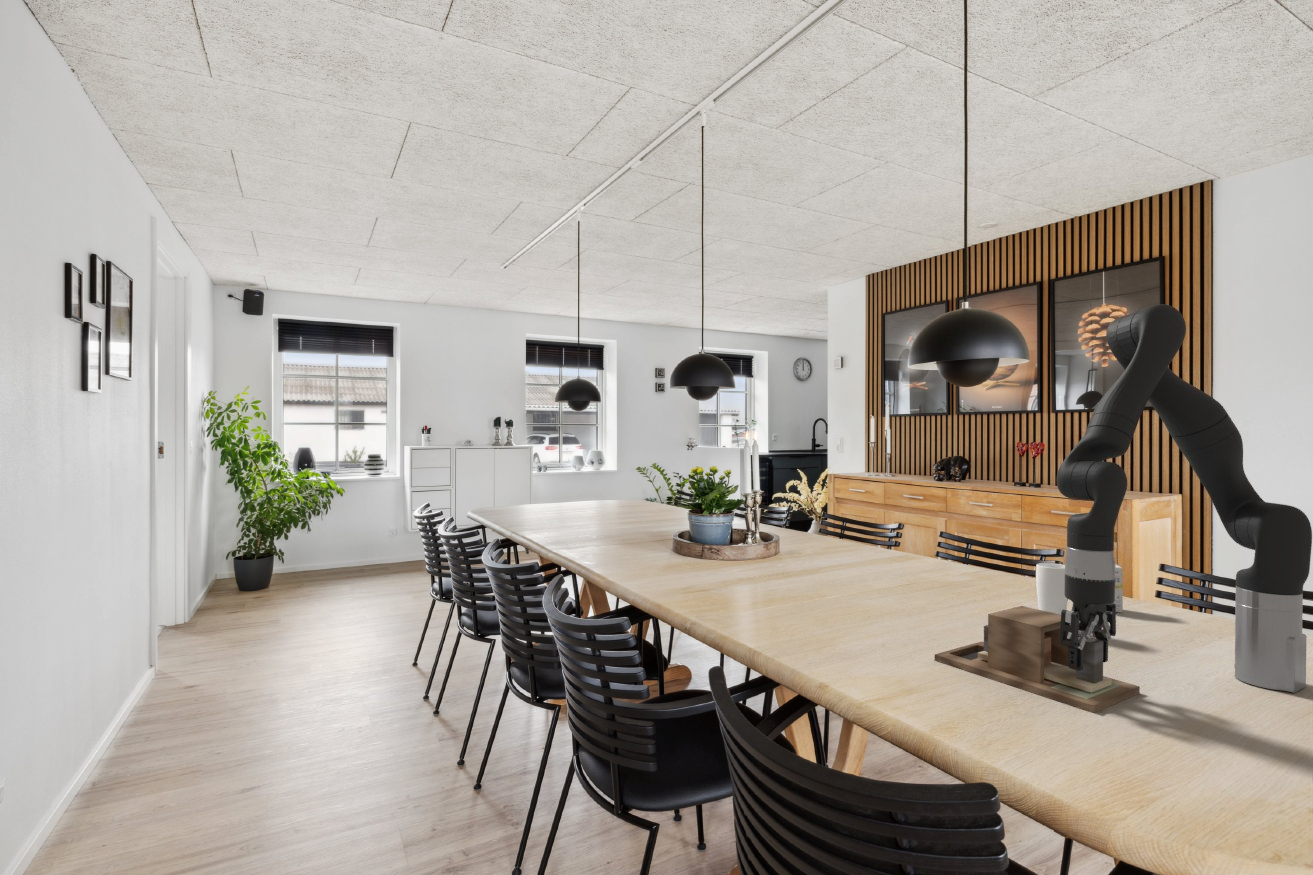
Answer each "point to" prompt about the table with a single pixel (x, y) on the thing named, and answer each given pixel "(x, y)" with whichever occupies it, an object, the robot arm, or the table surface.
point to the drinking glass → (1051, 587)
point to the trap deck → (1030, 659)
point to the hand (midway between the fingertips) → (1088, 664)
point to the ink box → (1118, 588)
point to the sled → (1083, 679)
